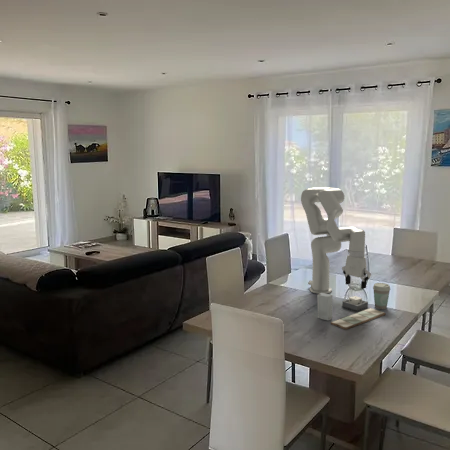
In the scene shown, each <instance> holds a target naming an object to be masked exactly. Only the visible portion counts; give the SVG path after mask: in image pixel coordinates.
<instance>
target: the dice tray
mask: <svg viewBox="0 0 450 450" xmlns="http://www.w3.org/2000/svg"><path fill="white" fill-rule="evenodd" d="M368 305H369V302H368V301H365V300H363V299H362V304H359V305H354V304H351V303H349V298H348V299H345V300H342V306H341V307H343V308H345V309H348V310H351V311H354V312H355V313H358V312H361V311H363V310H366V309H369V306H368Z"/></svg>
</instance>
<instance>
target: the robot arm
mask: <svg viewBox="0 0 450 450" xmlns="http://www.w3.org/2000/svg"><path fill="white" fill-rule="evenodd" d="M300 201H301V205H302V208H303V210H304V213H305V216H306V220H307V224H308V227H309V232H310V234H311V235H313V236H317V237H315V238H313V239H312V240H311V243H310V247H311V254H312V255H311V256H312V271H311V272H312V273H311V274H312V277H311V278H312V279H311V280H309V281H308V282H307V285H310V287H309V291H310V292H311V293H314V294H317V295H318V294H320V293H325V294H330V293H332V292H333V291H332V287H330V262H331V261H330V259H329V257H328V255H327V254H330V253H337V252H339V251H340V250H341V248H342V243H344V242H348V244H349V245H348V246H349V247H348V249H347V253H348V255H347V257H346V260H345V265H344V266H341V270H342V273H343V276H344V277H345V285H346V286H347V285H350V284H351V280H352V279H351V276H352V277H356V278H360V279H361V283H360V285H361V286H360V289H361V290H364V289H367V282H368V280H369V279H370V278H371V276H372V273H371V272H370V271H369V270H367V259H366V256H365V253H366V252H365V248H366V231H365V230H363V229H360V228H357V227H355V226H342V227H341V226H340V227H338V224H337V222H336V219H337V218H339V217H340V216H341V215H342V214H343V212H344V209H343V207H342V204H341V203H344V201H345V193H344V191H343V190H342V189H340V188H337V187H331V186H330V187H329V186H321V187H309V188H305V189H304V190H303V191H302V192H301V195H300ZM315 203H320V204H321V206H322V207H323V209H324V211H325V213H326V215H327V217H323V215H322V212H321V209H320V208H319V206H318V205H317V204H315ZM323 235H326V236H323Z"/></svg>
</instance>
